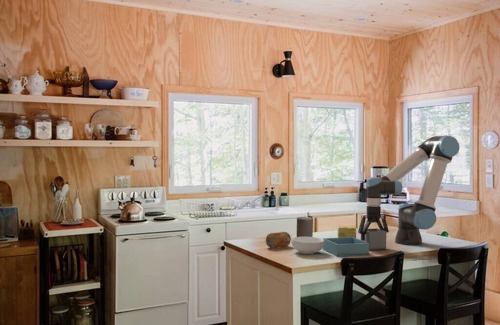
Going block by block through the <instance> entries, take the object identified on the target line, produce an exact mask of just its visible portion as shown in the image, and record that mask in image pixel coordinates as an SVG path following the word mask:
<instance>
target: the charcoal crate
mask: <svg viewBox="0 0 500 325" xmlns="http://www.w3.org/2000/svg"><path fill="white" fill-rule="evenodd" d="M365 235H366V242H367V243H369V251H383V250H384V251H385V250H387V233H386V231H384V230H380V228H379V227H378V228H375V227H373V228H368V229H367V231H366V233H365ZM360 240H362V239H361V238H360ZM362 241H363V240H362Z"/></svg>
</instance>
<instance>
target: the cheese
mask: <svg viewBox="0 0 500 325" xmlns="http://www.w3.org/2000/svg"><path fill="white" fill-rule="evenodd" d="M344 237H354V238H357V225H338V228H337V238H344Z"/></svg>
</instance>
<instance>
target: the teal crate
mask: <svg viewBox="0 0 500 325" xmlns="http://www.w3.org/2000/svg"><path fill="white" fill-rule="evenodd" d="M322 239H323V240H324V246H323V248H322V250H323V251H324V252H327V253H329V254H331V255H333V256H335V257H352V256H354V257H355V256H369V254H370V250H369V243H367V242H364V241H362V240H361V239H359V238H357V237H356V238H354V237H344V238H338V237H326V238H323V237H322Z"/></svg>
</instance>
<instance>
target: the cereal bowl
mask: <svg viewBox="0 0 500 325" xmlns="http://www.w3.org/2000/svg"><path fill="white" fill-rule="evenodd" d="M291 245H292V247H293V249H294V250H296V251H297V252H299V253H300V254H305V255H314V254H316V253H317V252H320V251H322V250H323V246H324V240H323V238H320V237H314V236H313V237H297V236H296V237H295V236H294V237H291Z"/></svg>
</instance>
